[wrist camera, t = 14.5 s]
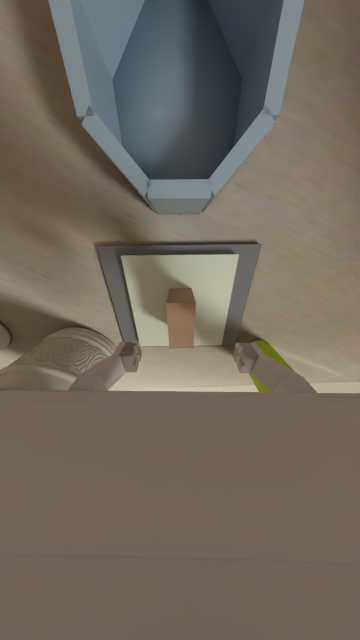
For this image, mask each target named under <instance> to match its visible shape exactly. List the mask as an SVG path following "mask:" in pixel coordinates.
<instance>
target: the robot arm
mask: <svg viewBox="0 0 360 640" xmlns="http://www.w3.org/2000/svg"><path fill="white" fill-rule="evenodd" d="M235 347H236V349H235V350H234V352H233V357H234V360H235V362H236V363H238V364H237V367H238V369H239V371H240V373H251V374H252V375H253V376H254V377H255V378H256V379H257V380H258V381H259V382H260V383H262V384H263V385H264V386H265V387H266V388H267V389H268V390H269V391H270V392H271V393H267V392H175V391H108V390H109V389H110V388H111V387H112V386H113V385H114V384H115V383H116V382H117V381H118V380H119V379H120V378H121V377H122V376H123V375H124V374H125V373H126V372H136V371H137V368H138V366H139V364H138V362H139V361H140V360H141V356H142V352H141V349H140V343H139V342H120V343H119V345H118V346H117V348H116V349H115V351H114V353H113V354H112V356H108V357H107V358H105V359H104V360H102V361H101V362H99V363H97V364H96V365H94V366H93V367H91V368H89V369H88V370H86V371H85V372H83V373H82V374H80V375H79V376H78V377H77V379H76V380H75V381H74V382H73V384H72V385H71V386H70V388H69V389H68V390H13V389H12V390H3V391H0V640H360V393H356V394H355V393H353V394H351V393H317V392H316V391H315V390H314V389H313V388H312V387H311V385H310V384H309V383H308V382H307V381H306V380H305V379H304V377H302V376H300V375H299V374H297V373H295V372H294V371H292V370H290V369H288V368H287V367H285V366H283V365H282V364H280V363H278V362H277V361H275V360H273V359H271V358H270V357H267V356H266V355H265V354H264V352H263V351H262V350H261V348H260V347H259V346H258V344H257V343H236V345H235Z"/></svg>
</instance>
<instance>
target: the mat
mask: <svg viewBox="0 0 360 640" xmlns="http://www.w3.org/2000/svg"><path fill="white" fill-rule="evenodd" d="M261 245H262V244H227V245H145V246H96V247H97V250H98V254H99V257H100V261H101V264H102V267H103V271H104V274H105V278H106V281H107V285H108V288H109V292H110V295H111V299H112V302H113V305H114V309H115V312H116V316H117V319H118V323H119V326H120V330H121V333H122V337H123V340H124V342H139V339H138V334H137V329H136V325H135V320H134V315H133V311H132V306H131V301H130V297H129V292H128V287H127V283H126V278H125V273H124V269H123V264H122V259H121V256H123V255H185V254H239V257H238V263H237V268H236V273H235V278H234V283H233V288H232V293H231V299H230V304H229V309H228V314H227V319H226V324H225V329H224V335H223V340H222V345H235V344H236V340H237V336H238V332H239V328H240V325H241V321H242V317H243V313H244V309H245V306H246V302H247V298H248V294H249V290H250V287H251V283H252V279H253V275H254V271H255V268H256V264H257V260H258V256H259V252H260V248H261ZM196 346H221V345H196ZM140 347H160V346H140Z"/></svg>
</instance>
